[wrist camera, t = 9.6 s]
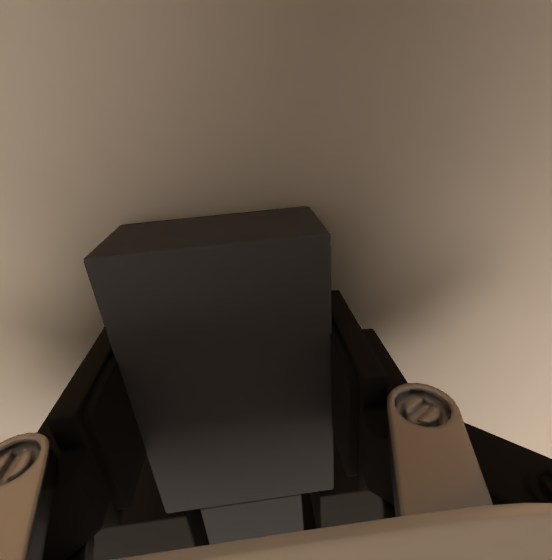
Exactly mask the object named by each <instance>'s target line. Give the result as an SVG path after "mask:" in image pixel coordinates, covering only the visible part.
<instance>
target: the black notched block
mask: <svg viewBox="0 0 552 560" xmlns="http://www.w3.org/2000/svg"><path fill="white" fill-rule="evenodd" d="M333 452H334V488H333V489H331V490H325V491H318V492H311V493H304V494H301V497H302V510H303V524H304V530H311V529H318V528H325V527H332V526H338V525H345V524H352V523H359V522H366V521H373V520H380V519H382V516H381V503H380V497H379V496H377V495H375V494H374V493H372V492H370V491H369V490H368V489H366V490H359V489H358V486H357V482H356V479H355V476H351V477H348V476H347V474H346V472H345V468H344V465H343V462H342V458H341V455H340V452H339V449H338V445H337V442H336V439H335V435H334V432H333ZM94 541H95V545H94V560H112V559H119V558H125V557H132V556H139V555H145V554H152V553H158V552H165V551H171V550H178V549H184V548H191V547H197V546H204V545H210V544H209V540H208V536H207V533H206V529H205V525H204V521H203V517H202V514H201V510H200V509H194V510H187V511H181V512H174V513H166V512H165V508H164V505H163V502H162V499H161V496H160V493H159V490H158V487H157V484H156V481H155V478H154V475H153V472H152V469H151V466H150V463H149V460H148V457H147V454H146V457H145V461H144V465H143V468H142V472H141V476H140V479H139V483H138V487H137V490H136V494H135V498H134V501H133V504H132V506H131V508H129V509H125V511H124V515H123V518H122V522H121V525H120V526H114V527H107V528H102V529H101V530H100V531H99V532H98V533H97V534H95V535H94Z"/></svg>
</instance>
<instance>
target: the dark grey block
mask: <svg viewBox="0 0 552 560" xmlns="http://www.w3.org/2000/svg"><path fill="white" fill-rule="evenodd" d="M84 265H85V268H86V271H87V274H88V277H89V280H90V283H91V286H92V289H93V292H94V295H95V298H96V301H97V304H98V307H99V310H100V313H101V316H102V319H103V322H104V326H105V329H106V332H107V335H108V338H109V341H110V344H111V347H112V350H113V353H114V356H115V359H116V361H117V363H118V366H119V369H120V372H121V375H122V378H123V381H124V384H125V387H126V390H127V393H128V396H129V400H130V403H131V406H132V409H133V412H134V415H135V418H136V421H137V424H138V427H139V430H140V433H141V436H142V439H143V442H144V445H145V449H146V452H147V453H146V454H147V457H148V460H149V463H150V466H151V469H152V472H153V475H154V478H155V481H156V484H157V487H158V490H159V493H160V496H161V499H162V502H163V505H164V508H165V512H166V513H174V512H181V511H187V510H194V509H200V510H201V514H202V517H203V521H204V525H205V529H206V533H207V536H208V540H209V544H210V545H211V544H217V543H224V542H230V541H237V540H244V539H250V538H257V537H264V536H270V535H277V534H284V533H291V532H297V531H304V524H303V510H302V497H301V494H304V493H311V492H318V491H325V490H331V489H333V488H334V452H333V429H332V394H331V334H332V315H331V246H330V233H329V232H328V231H327V229H326V228H325V227H324V226H323V224H322V223H321V222H320V221H319V219H318V218H317V217H316V216H315V214H314V213H313V212H312V211H311V209H310V208H309V207H307V206H306V207H296V208H286V209H276V210H266V211H257V212H247V213H237V214H227V215H217V216H207V217H197V218H187V219H177V220H167V221H157V222H147V223H137V224H128V225H121V226H119V227H118V228H117V229H116V230H115V231H114V232H113V233H111V234H110V235H109V236H108V237H107V238H106V239H105V240H104V241H103V242H102V243H101V244H99V245H98V246H97V247H96V248H95V249H94V250H93V251H92V252H91V253H90V254H88V255H87V256H86V257H85V258H84Z"/></svg>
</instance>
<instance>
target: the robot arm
mask: <svg viewBox="0 0 552 560" xmlns="http://www.w3.org/2000/svg"><path fill="white" fill-rule="evenodd" d="M331 315H332V334H331V394H332V429H333V432H334V435H335V439H336V442H337V445H338V449H339V452H340V455H341V458H342V462H343V465H344V468H345V472H346V474H347V476H348V477H351V476H355V479H356V482H357V486H358V489H359V490H366V489H368V490H369V491H370V492H372V493H374V494H375V495H377V496H379V497H380V503H381V516H382V519H380V520H373V521H366V522H359V523H352V524H345V525H338V526H332V527H325V528H318V529H311V530H304V531H297V532H291V533H284V534H277V535H270V536H264V537H257V538H250V539H244V540H237V541H230V542H224V543H217V544H211V545H204V546H197V547H191V548H184V549H178V550H171V551H165V552H158V553H152V554H145V555H139V556H132V557H125V558H119V559H112V560H552V459H550V458H548V457H546V456H543V455H541V454H538V453H536V452H534V451H531V450H529V449H526V448H524V447H522V446H519V445H517V444H514V443H512V442H510V441H507V440H505V439H502V438H500V437H498V436H495V435H493V434H490V433H488V432H486V431H483V430H481V429H478V428H476V427H474V426H471V425H469V424H466V423H464V422H463V419H462V416H461V414H460V411H459V408H458V407H457V405H456V403H455V401H454V400H453V399H452V398H451V397H450V396H449V395H447V394H446V393H444V392H443V391H441V390H439V389H438V388H435V387H432V386H429V385H426V384H420V383H407V381H406V380H405V378H404V376H403V375H402V373H401V372H400V370H399V369H398V367H397V366H396V364H395V362H394V361H393V359H392V358H391V356H390V355H389V353H388V351H387V350H386V348H385V347H384V345H383V344H382V342H381V341H380V339H379V337H378V336H377V334H376V333H375V331H374V330H373V329H363V330H362V329H361V328H360V326H359V324H358V323H357V321H356V319H355V317H354V316H353V314H352V312H351V311H350V309H349V307H348V305H347V304H346V302H345V300H344V299H343V297H342V295H341V293H340V292H339V290H336V291H331ZM146 453H147V452H146V449H145V445H144V442H143V439H142V436H141V433H140V430H139V427H138V424H137V421H136V418H135V415H134V412H133V409H132V406H131V403H130V400H129V396H128V393H127V390H126V387H125V384H124V381H123V378H122V375H121V372H120V369H119V366H118V363H117V361H116V359H115V356H114V353H113V350H112V347H111V344H110V341H109V338H108V335H107V332H106V329H105V327H104V329H103V330H102V332H101V333H100V335H99V337H98V338H97V340H96V341H95V343H94V344H93V346H92V348H91V349H90V351H89V352H88V354H87V355H86V357H85V359H84V360H83V362H82V363H81V365H80V366H79V368H78V369H77V371H76V372H75V374H74V376H73V377H72V379H71V380H70V382H69V383H68V385H67V387H66V388H65V390H64V391H63V393H62V394H61V396H60V398H59V399H58V401H57V402H56V404H55V405H54V407H53V409H52V410H51V412H50V413H49V415H48V416H47V418H46V420H45V421H44V423H43V424H42V426H41V427H40V429H39V431H38V432H37V433H26V434H21V435H17V436H14V437H12V438H9V439H7V440H5V441H3V442H1V443H0V560H94V545H95V541H94V535H95V534H97V533H98V532H99V531H100V530H101V529H102V528H107V527H114V526H120V525H121V522H122V518H123V515H124V511H125V509H129V508H131V506H132V504H133V501H134V498H135V494H136V490H137V487H138V483H139V479H140V476H141V472H142V468H143V465H144V461H145V457H146Z"/></svg>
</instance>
